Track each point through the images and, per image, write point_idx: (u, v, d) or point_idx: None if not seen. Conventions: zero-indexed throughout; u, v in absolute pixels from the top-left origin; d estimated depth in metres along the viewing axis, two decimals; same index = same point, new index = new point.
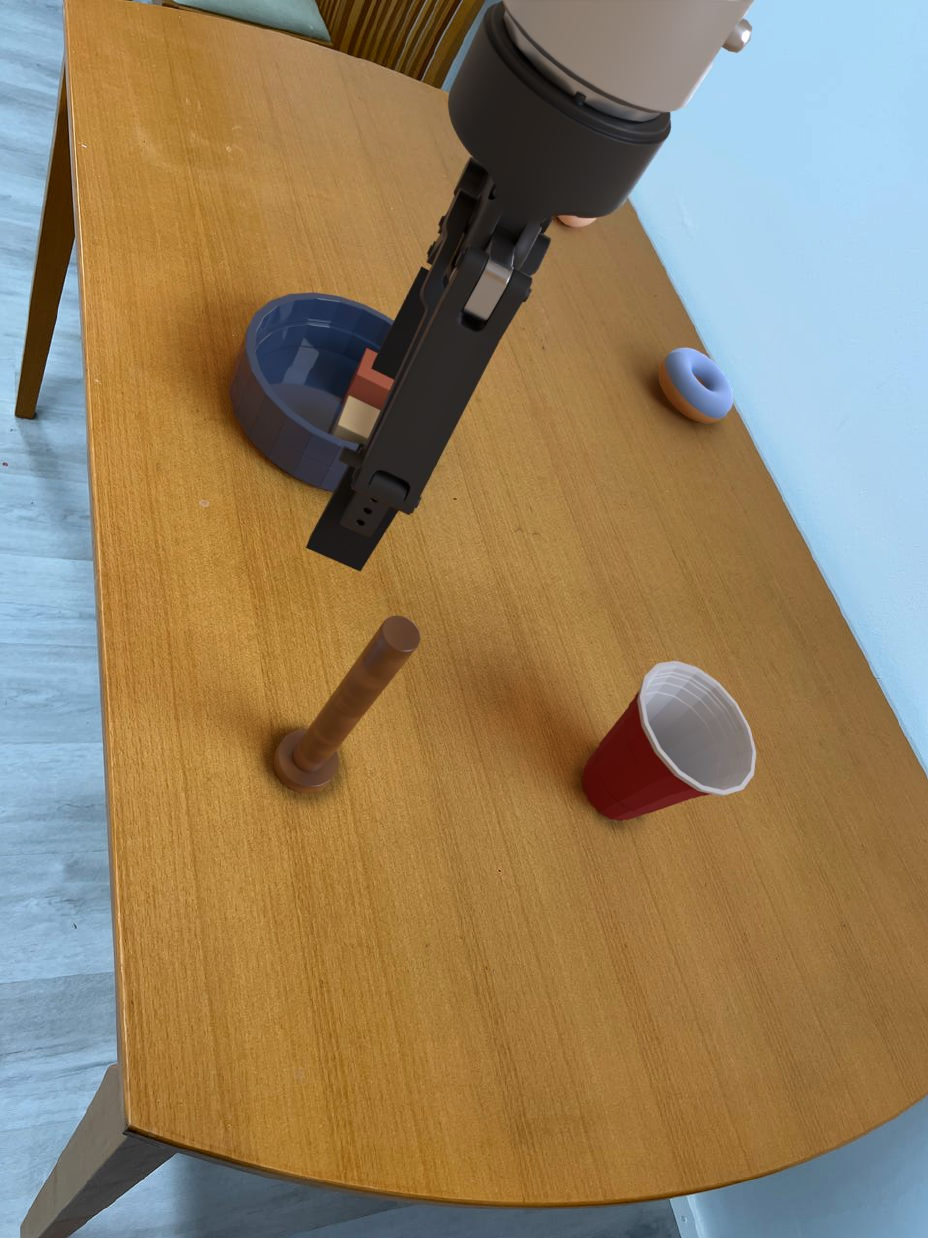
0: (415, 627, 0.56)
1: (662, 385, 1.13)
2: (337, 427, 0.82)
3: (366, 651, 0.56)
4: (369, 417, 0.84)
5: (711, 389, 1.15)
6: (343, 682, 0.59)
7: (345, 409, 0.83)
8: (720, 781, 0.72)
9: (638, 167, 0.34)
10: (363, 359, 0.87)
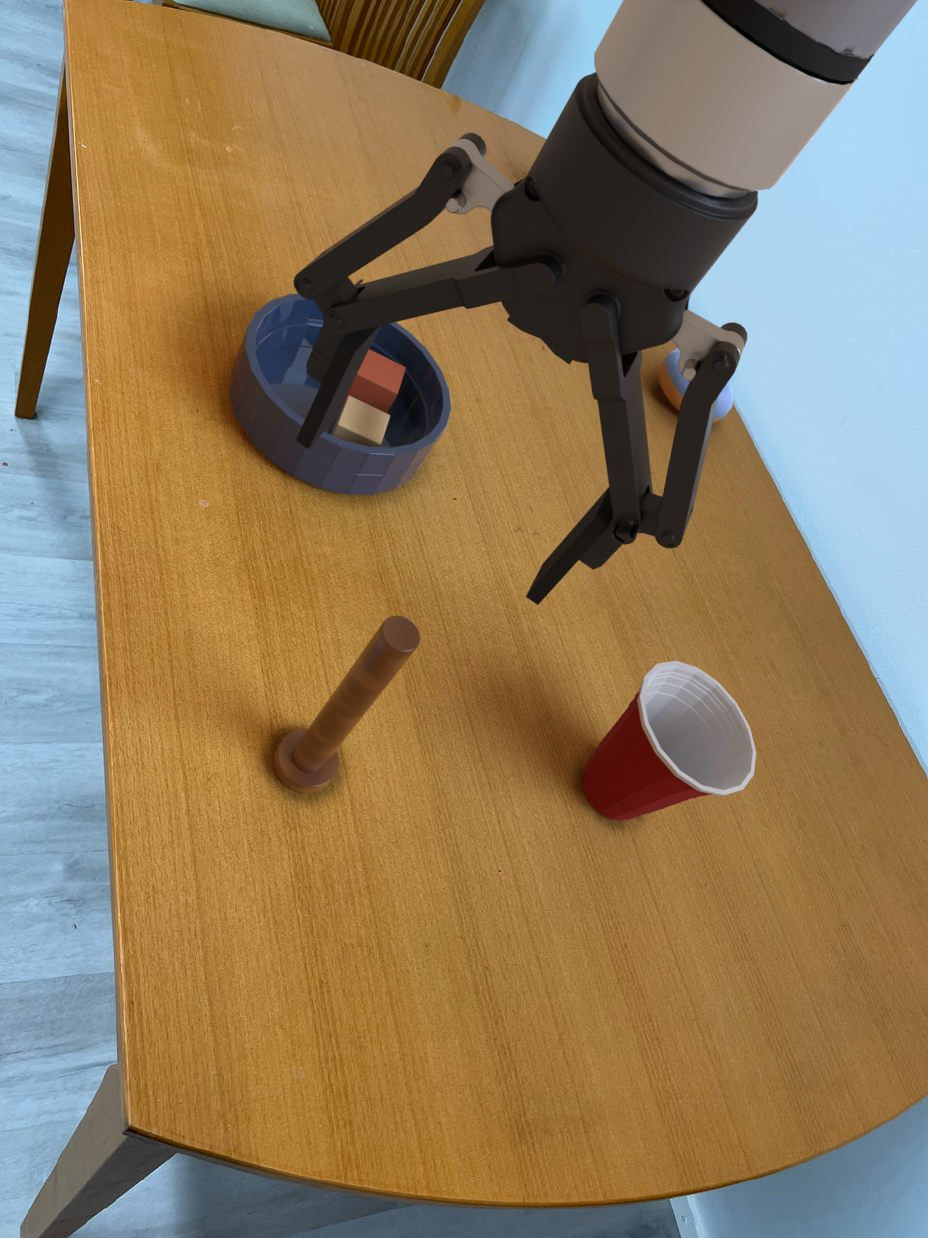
0: (415, 627, 0.56)
1: (662, 385, 1.13)
2: (337, 427, 0.82)
3: (366, 651, 0.56)
4: (369, 417, 0.84)
5: None
6: (343, 682, 0.59)
7: (345, 409, 0.83)
8: (720, 781, 0.72)
9: None
10: None
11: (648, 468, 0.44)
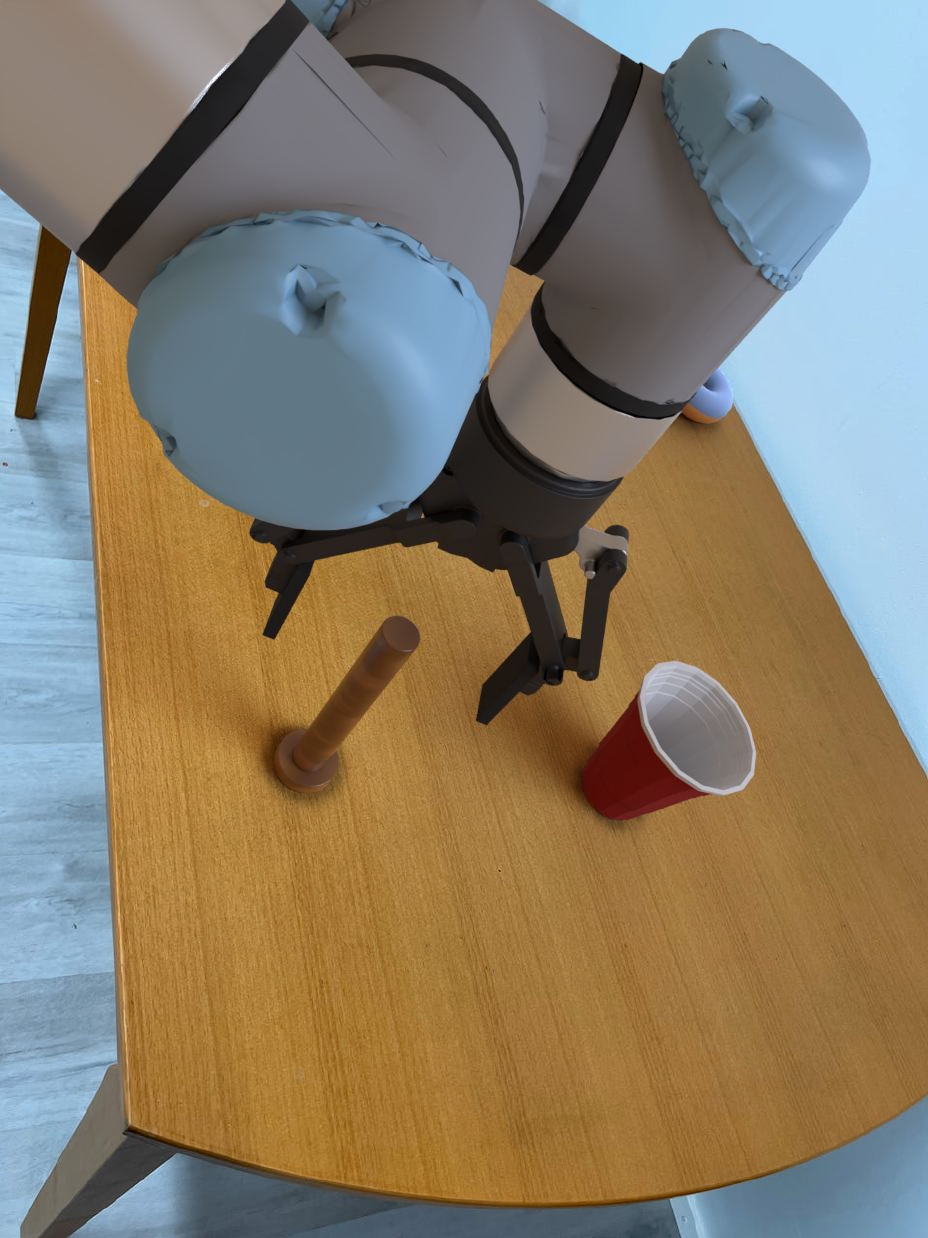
0: (415, 627, 0.56)
1: None
2: None
3: (366, 651, 0.56)
4: None
5: (711, 389, 1.15)
6: (343, 682, 0.59)
7: None
8: (720, 781, 0.72)
9: None
10: None
11: (562, 620, 0.54)
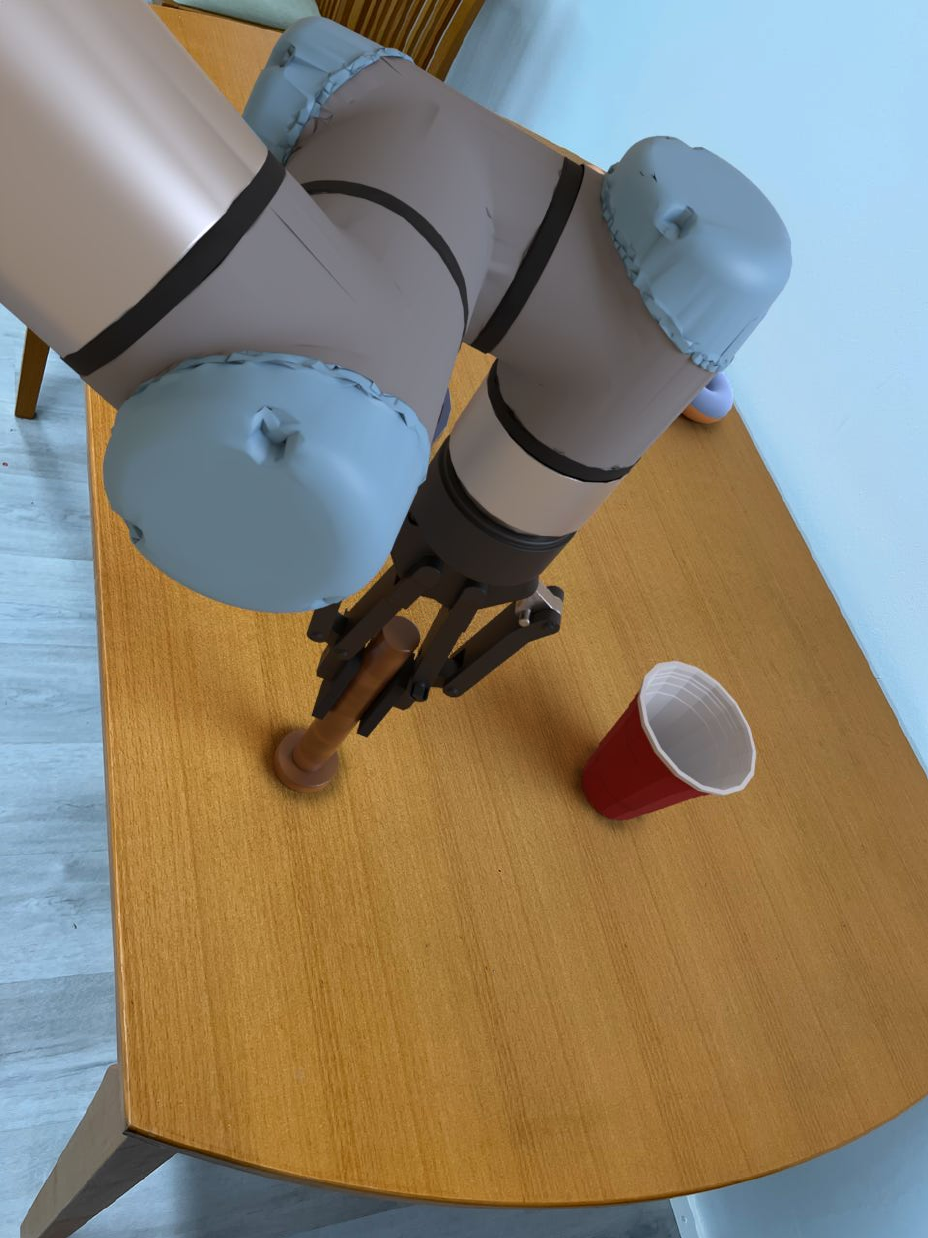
0: (415, 627, 0.56)
1: None
2: None
3: (366, 651, 0.56)
4: None
5: (711, 389, 1.15)
6: None
7: None
8: (720, 781, 0.72)
9: None
10: None
11: None
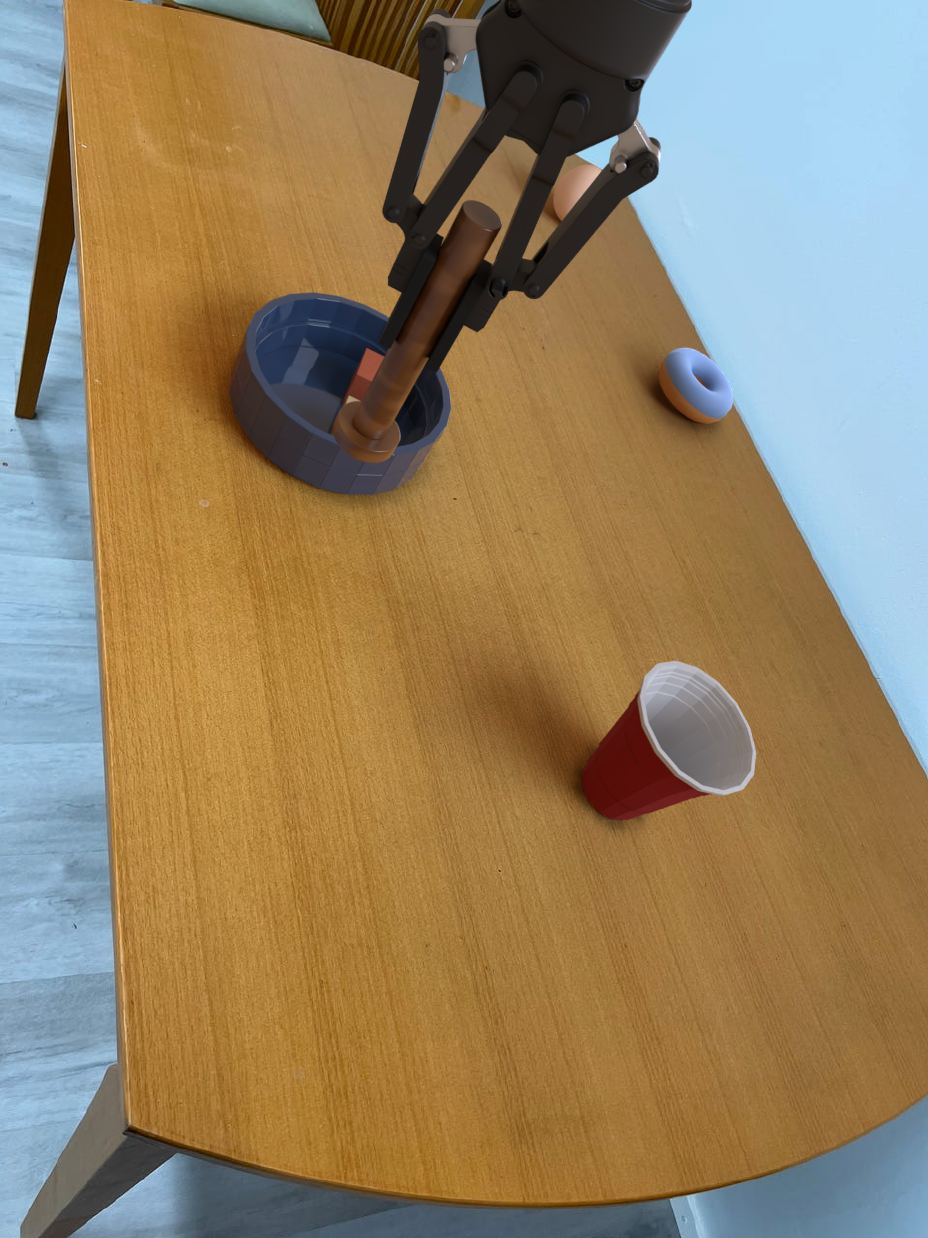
0: (496, 214, 0.53)
1: (662, 385, 1.13)
2: None
3: (443, 244, 0.53)
4: None
5: (711, 389, 1.15)
6: None
7: None
8: (720, 781, 0.72)
9: None
10: (363, 359, 0.87)
11: None
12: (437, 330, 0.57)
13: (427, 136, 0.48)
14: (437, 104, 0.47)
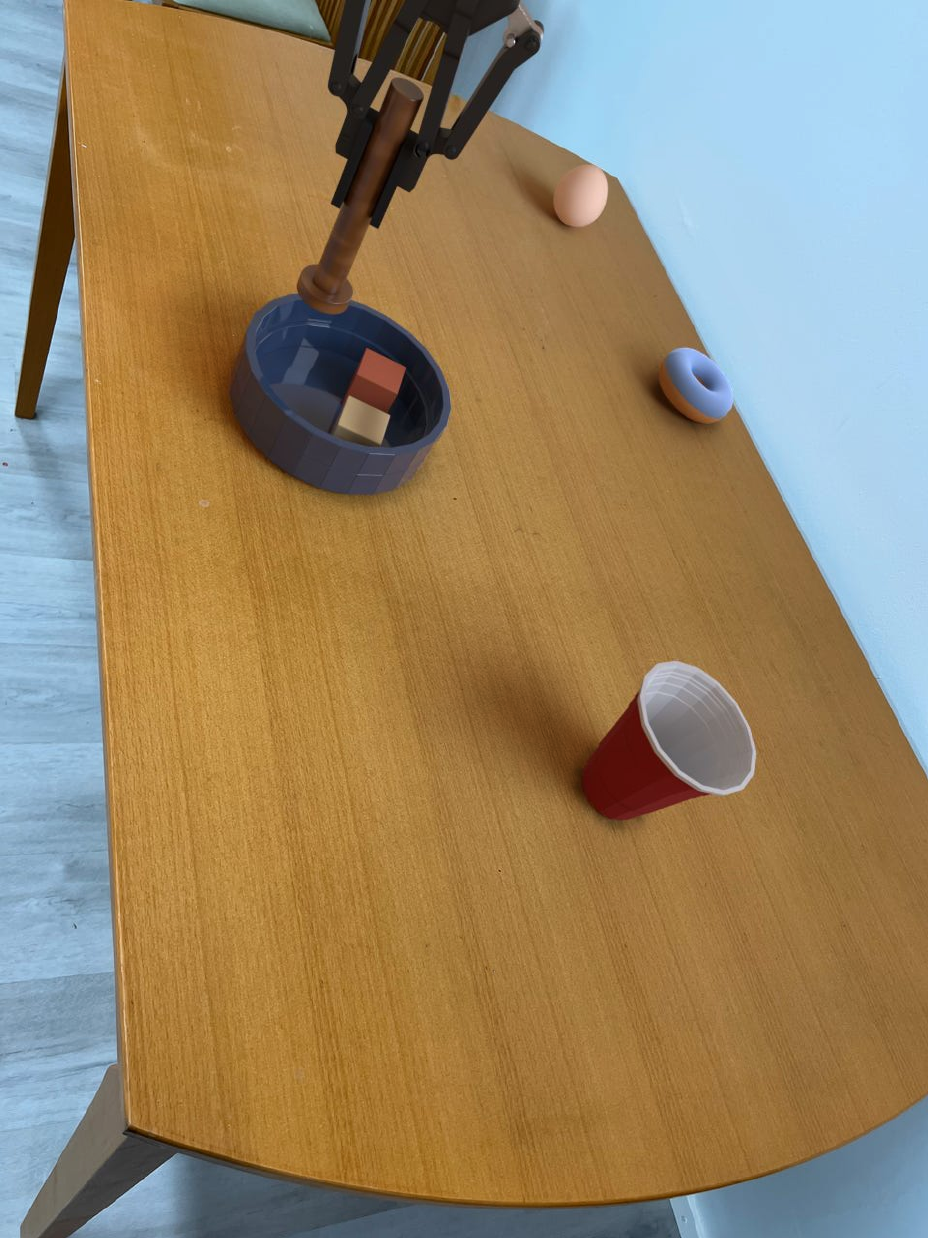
0: (419, 88, 0.66)
1: (662, 385, 1.13)
2: (337, 427, 0.82)
3: (378, 114, 0.67)
4: (369, 417, 0.84)
5: (711, 389, 1.15)
6: (358, 164, 0.69)
7: (345, 409, 0.83)
8: (720, 781, 0.72)
9: None
10: (363, 359, 0.87)
11: None
12: (377, 190, 0.70)
13: (359, 20, 0.61)
14: None
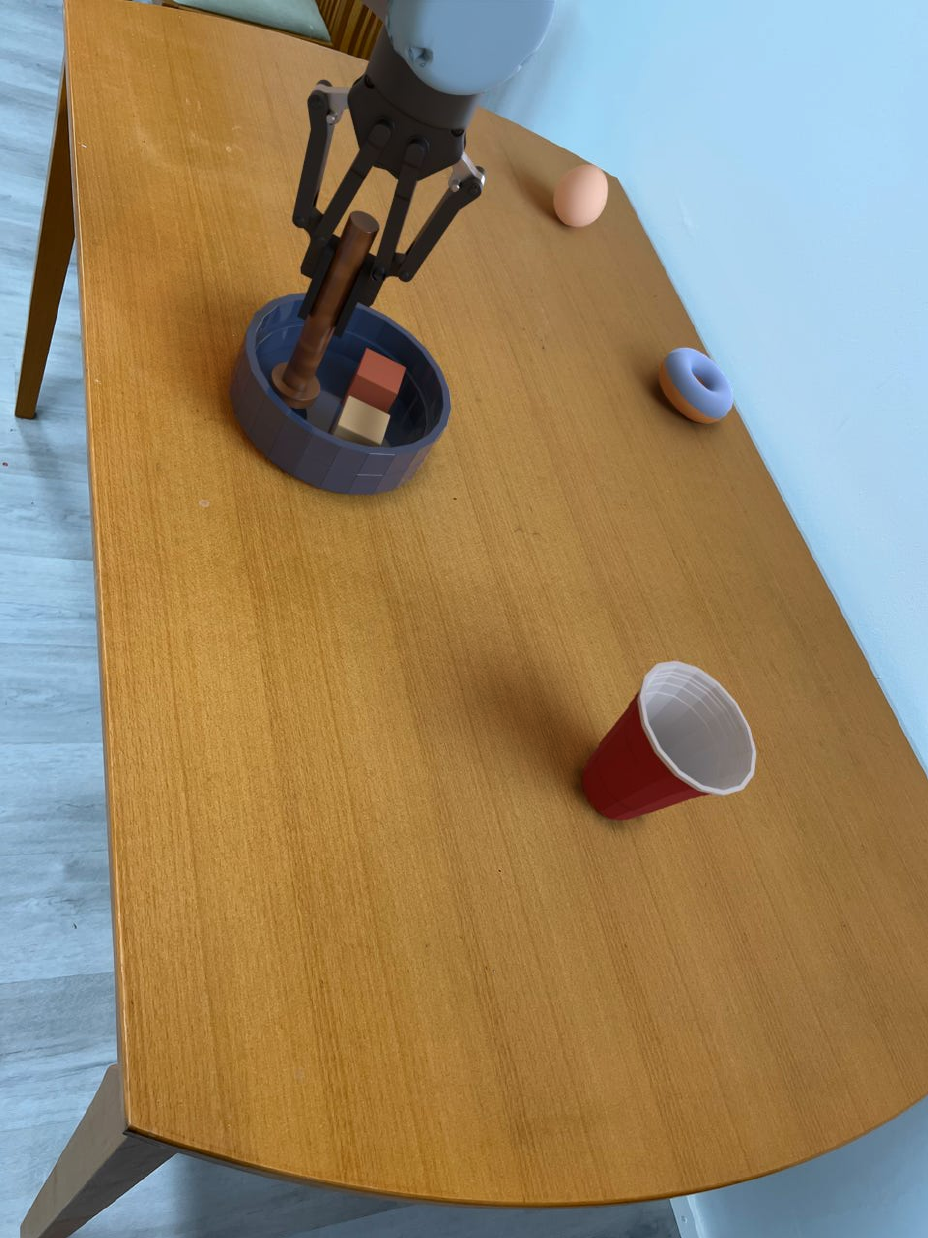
0: (375, 220, 0.73)
1: (662, 385, 1.13)
2: (337, 427, 0.82)
3: (338, 242, 0.73)
4: (369, 417, 0.84)
5: (711, 389, 1.15)
6: None
7: (345, 409, 0.83)
8: (720, 781, 0.72)
9: None
10: (363, 359, 0.87)
11: (398, 241, 0.74)
12: (339, 306, 0.77)
13: (319, 167, 0.68)
14: (324, 145, 0.67)
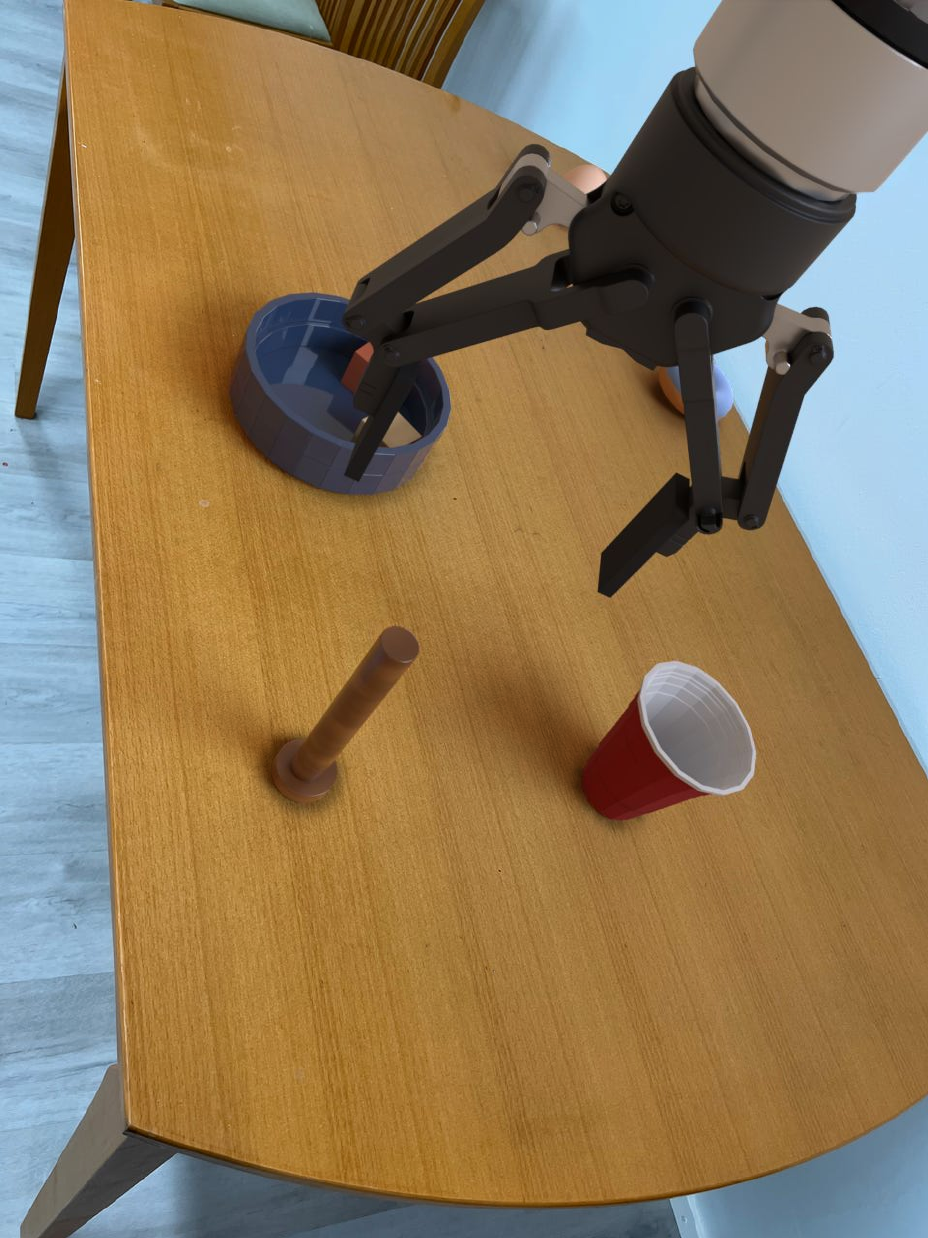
0: (417, 650, 0.55)
1: (662, 385, 1.13)
2: (361, 422, 0.83)
3: None
4: (398, 428, 0.84)
5: None
6: None
7: None
8: (720, 781, 0.72)
9: None
10: (369, 342, 0.89)
11: (720, 453, 0.43)
12: (350, 717, 0.59)
13: (453, 277, 0.36)
14: (488, 256, 0.35)
